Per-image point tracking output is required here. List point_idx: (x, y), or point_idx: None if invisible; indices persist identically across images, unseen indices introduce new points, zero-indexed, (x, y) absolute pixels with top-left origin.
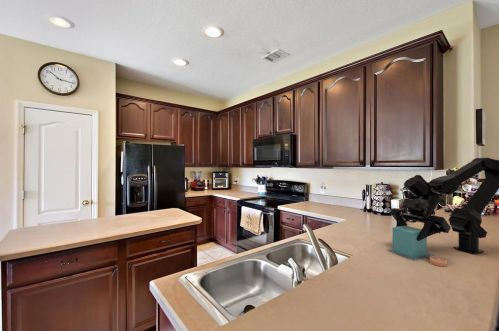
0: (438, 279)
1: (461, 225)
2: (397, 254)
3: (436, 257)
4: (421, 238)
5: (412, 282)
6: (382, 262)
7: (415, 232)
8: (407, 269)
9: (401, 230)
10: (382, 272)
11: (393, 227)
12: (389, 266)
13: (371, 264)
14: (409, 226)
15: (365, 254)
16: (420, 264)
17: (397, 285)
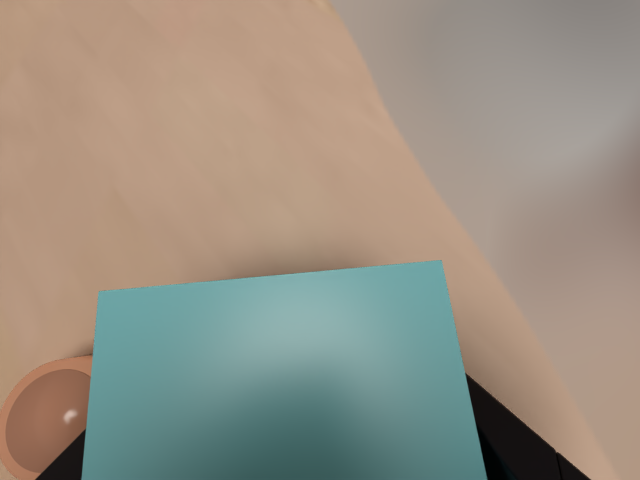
0: (4, 212)
1: None
2: None
3: (67, 415)
4: None
5: (54, 79)
6: (261, 121)
7: (93, 370)
8: (149, 168)
9: (286, 274)
10: (176, 42)
11: (431, 268)
12: (211, 115)
13: (260, 58)
14: None
15: (377, 119)
16: None
17: (71, 11)
